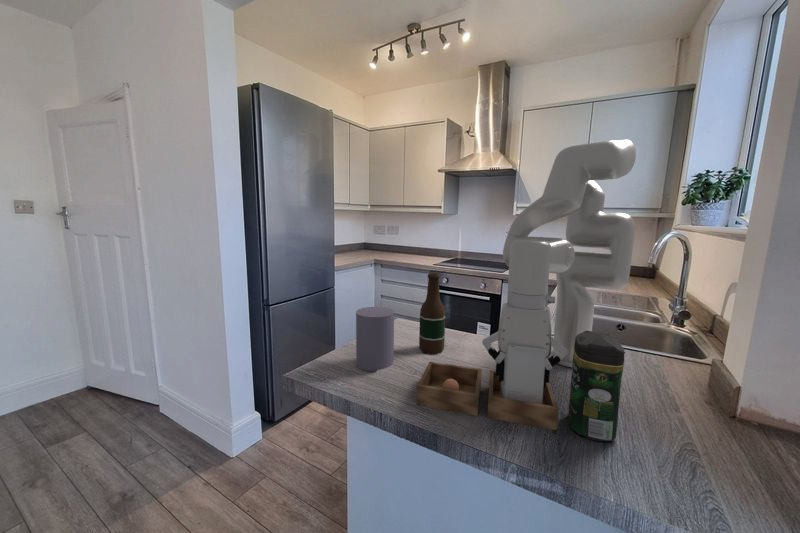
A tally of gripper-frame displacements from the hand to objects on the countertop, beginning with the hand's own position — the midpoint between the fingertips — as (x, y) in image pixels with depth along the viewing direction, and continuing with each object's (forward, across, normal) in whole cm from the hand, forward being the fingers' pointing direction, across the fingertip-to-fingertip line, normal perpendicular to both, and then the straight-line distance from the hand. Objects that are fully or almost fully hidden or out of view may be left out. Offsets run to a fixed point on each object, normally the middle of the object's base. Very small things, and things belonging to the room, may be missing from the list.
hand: (521, 381), depth 67 cm
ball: (+5, +15, 0) cm, 16 cm away
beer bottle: (+7, +24, -26) cm, 36 cm away
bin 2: (+6, 0, 0) cm, 6 cm away
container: (+7, +37, -11) cm, 39 cm away
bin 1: (+6, +15, 0) cm, 16 cm away
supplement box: (+4, 0, 0) cm, 4 cm away
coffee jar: (+7, -13, +2) cm, 15 cm away
